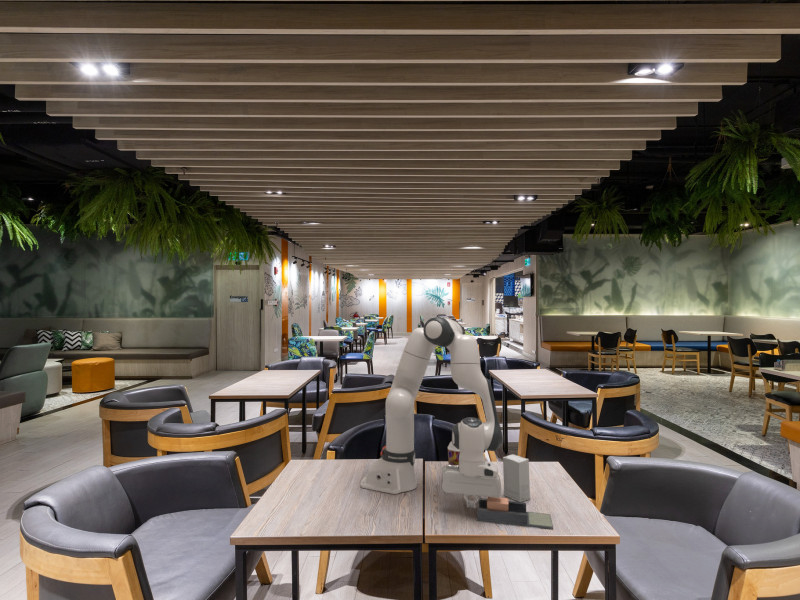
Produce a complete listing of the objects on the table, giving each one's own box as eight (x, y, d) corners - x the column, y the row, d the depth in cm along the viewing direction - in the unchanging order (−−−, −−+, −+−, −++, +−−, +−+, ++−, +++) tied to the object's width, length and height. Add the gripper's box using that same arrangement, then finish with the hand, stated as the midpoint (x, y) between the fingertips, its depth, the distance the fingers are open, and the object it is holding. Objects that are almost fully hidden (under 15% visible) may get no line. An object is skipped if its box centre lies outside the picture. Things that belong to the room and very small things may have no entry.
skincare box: (530, 499, 170) (530, 459, 170) (519, 503, 166) (519, 462, 167) (513, 491, 177) (513, 453, 177) (502, 495, 173) (502, 455, 174)
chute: (477, 520, 152) (477, 509, 152) (479, 508, 162) (479, 497, 162) (553, 529, 147) (553, 518, 147) (550, 515, 156) (550, 505, 156)
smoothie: (454, 486, 181) (455, 436, 181) (443, 479, 188) (443, 430, 188) (471, 483, 185) (472, 433, 185) (460, 476, 192) (460, 428, 192)
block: (486, 515, 154) (487, 501, 154) (487, 509, 159) (487, 496, 159) (508, 517, 152) (508, 504, 152) (508, 511, 157) (508, 498, 157)
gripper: (440, 467, 157) (440, 507, 157) (501, 472, 152) (501, 514, 152) (443, 461, 163) (442, 500, 163) (501, 466, 158) (501, 506, 158)
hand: (471, 507), depth 157 cm, fingers closed
